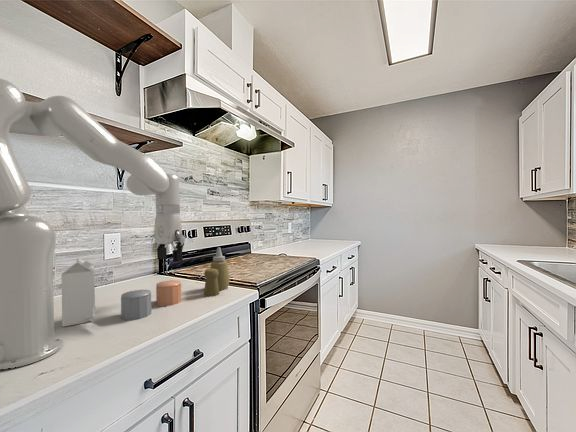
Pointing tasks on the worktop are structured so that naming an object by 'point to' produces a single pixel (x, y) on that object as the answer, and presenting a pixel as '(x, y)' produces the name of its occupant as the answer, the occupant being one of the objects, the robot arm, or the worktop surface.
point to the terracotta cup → (168, 293)
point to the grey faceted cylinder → (135, 304)
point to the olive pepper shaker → (211, 283)
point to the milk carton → (78, 293)
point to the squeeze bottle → (221, 269)
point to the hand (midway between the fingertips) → (169, 260)
